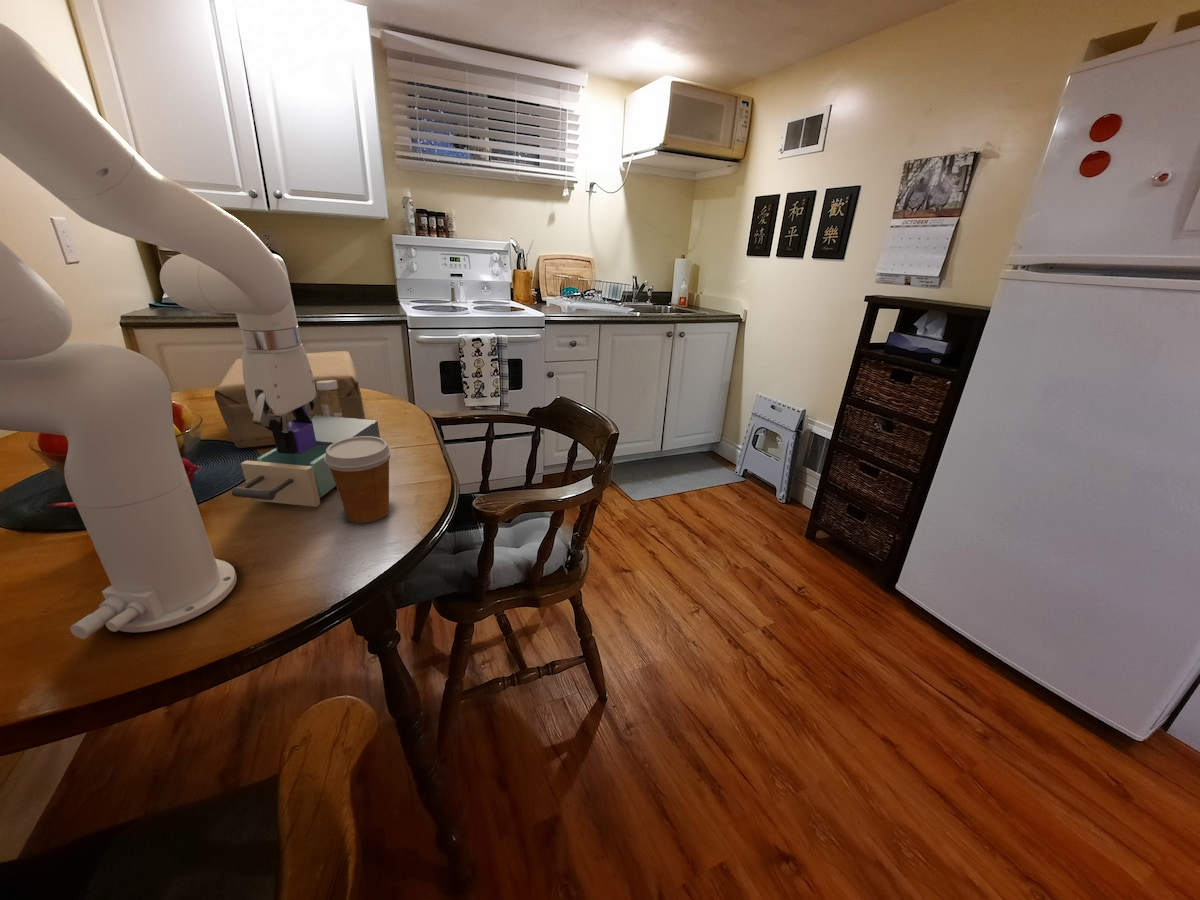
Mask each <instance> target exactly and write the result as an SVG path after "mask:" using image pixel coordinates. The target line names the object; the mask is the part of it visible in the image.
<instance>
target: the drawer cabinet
mask: <svg viewBox="0 0 1200 900" xmlns="http://www.w3.org/2000/svg"><path fill="white" fill-rule="evenodd" d="M312 424H313V429H314V433H315V438H316V441H315V442H316V445H321V446H330V445H331V444H333V443H335V442H337V441H340V440H342V439H346V438H351V437H359V436H373V437H379V438H381V434H380V429H379V428H380V427H379V422H378V420H377V419H366V418H365V419H355V418H343V417H331V416H320V415H316V416H314V417H313V419H312Z"/></svg>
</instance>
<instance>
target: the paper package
mask: <svg viewBox="0 0 1200 900" xmlns="http://www.w3.org/2000/svg"><path fill="white" fill-rule="evenodd" d="M306 355H307V357H308V360H309V363H310V367H311V370H312V374H313V378H314V383H315V389H316V391H317V393H318V398H317V400H316V402H315V403H314V408H313V411H312V412H313V417H314V416H316V415H320V416H324V415H323V412H322V408H321V401H320V395H319V392H318V391H319V390H317V386H316V382H317V381H327V380H336V381H337V384H338V389H337V390H338V395H339V396H338V399H339V404H340V408H341V412H342V417H343V418H355V419H366V417H365V410H364V403H363V397H362V392H361V388H360V383H359V379H358V375H357V371H356V370H357V369H356V367H355V364H354V361H353V358H352V356H351V353H350V352H349V351H347V350H341V351H339V350H337V351H323V352H321V351H319V352H306ZM214 399H215V402H216V404H217V407H218V410H219V412H220V414H221V417H222V419H223V422H224V423H225V426H226V428H227V430H228V433H229V436H230V438H231V439H232V441H233V444H234V445H235V447H236V448H239V449H248V448H255V447H265V446H272V445H273V446H276V444H275V440H274V436H273V432H270V431H269V430H268V429H267V428H266V427H264V426H261V425H258V424H254V423H253V416H254V413H252V412H251V410H250V407H249V404H248V400H247V395H246V390H245V384H244V378H243V369H242V357H241V358H236V359H235V361H234V362H233V363H232V365H231V366H230V367H229V369H228V371H227V372H226V374H225V375H224V377H223V378H222V380H221V382H220V383H219V385H218V386H217V388H216V389H215V390H214ZM288 419H289V422H292V420H293V419H296V418H295V417H294V415H293V413H292V411H291V412H289V413H288ZM276 421H278V422H280V417H276Z"/></svg>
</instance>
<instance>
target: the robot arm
mask: <svg viewBox="0 0 1200 900" xmlns="http://www.w3.org/2000/svg"><path fill="white" fill-rule="evenodd" d="M0 155H2V156H3V157H4V158H5V159H7V160H8V161H9V162H11V163H12V164H13V165H14V166H16V167H18V168H19V169H20V170H21V171H22V172H23V173H24V174H25V175H27V176H29V178H31V179H32V180H33V181H35V182H36V183H37V184H39V185H40V186H41V187H42V188H43V189H45V190H46V191H47V192H49V193H50V194H51V195H53V196H54V198H56V199H58V200H59V201H60V202H61V203H63V204H64V205H65V206H66V207H68V208H69V209H70V210H71V211H73V212H74V213H75V214H76V215H77V216H79V217H80V218H82V219H83V220H85V221H87V222H89V223H91V224H93V225H95V226H98V227H100V228H101V229H102V228H103V229H105V230H108V231H110V232H113V233H116V234H118V235H122V236H123V237H127V238H131V239H132V240H133V239H134V240H137V241H140V242H143V243H147V244H151V245H154V246H158V247H161V248H165V249H168V250H171V251H173V252H177V253H179V254H176V255H174V256H171V257H170V258H168V259H167V260H166V261H165V262H164V263H163V265H162V267H161V269H160V271H159V281H160V285H161V289H162V290H163V293H164V294H165V295H166V296H167V297H168V298H169V299H171V301H172V302H174V303H175V304H177V305H178V306H180V307H182V308H185V309H186V310H190V311H194V312H199V313H211V314H235V315H236V319H237V323H238V327H239V331H240V334H241V337H242V338H241V339H242V342H243V346H244V351H242V352H241V358H242V369H243V378H244V384H245V390H246V395H247V400H248V404H249V407H250V410H251V412H252V413H254V416H253V423H254V424H258V425H261V426H264V427H266V428H267V429H268V430H269V431H270V432H273V436H274V440H275V448H277V451H278V452H279V453H286V454H296V453H297V447H296V443H295V439H294V434H293V431H289V419H288V413H289V412H291V411H292V413H293V415H294V417H295V418H296V419H293V420H292V422H298V423H309V424H312V419H313V412H312V411H313V408H314V403H315V402H316V400H317V398H318V393H317V391H316V389H315V383H314V378H313V374H312V370H311V367H310V363H309V360H308V357H307V355H306V353H307V352H306V350H305V347H304V345H303V343H302V338H301V333H300V328H299V322H298V318H297V314H296V310H295V309H296V307H295V304H294V299H293V295H292V289H291V284H290V283H291V282H290V280H289V274H288V269H287V266H286V263H285V261H284V259H283V258H282V257H281V256H280V255H278V254H276V253H272V251H271V250H270V249H269V248H268V247H267V246H266V244H264V242H263V241H262V240H261V239H260V238H259V237H258V235H256V234H255V232H254V231H252V230H251V229H250V228H249V227H248V226H247V225H245V223H243V222H242V221H241V220H239V219H238V218H236V217H235V216H234V215H232V214H230V213H228V212H227V211H225V210H224V209H223V208H221V207H219V206H217V205H215V204H214V203H213V202H211V201H209V200H207V199H206V198H204V197H202V196H200V195H199V194H197V193H195V192H194V191H192V190H190V189H189V188H187V187H186V186H184V185H181V184H180V183H178V182H176V181H174V180H172V179H170V178H168V177H166V176H164V175H163V174H161V173H159V172H158V171H157V170H155V169H154V168H153V167H152V166H151V165H150V164H149V163H148V162H146V161H145V160H144V158H143V157H141V155H139V154H138V152H137V151H136V150H135V149H134V148H133V147H132V146H131V145H130V144H129V143H128V142H127V141H126V140H125V139H124V138H123V137H122V136H120V135H119V133H118V132H117V131H116V130H115V129H114V128H113V127H112V126H111V125H110V124H109V123H108V122H107V121H106V120H105V119H104V118H103V117H102V116H101V115H100V114H99V113H98V112H97V111H96V110H95V109H94V108H93V107H92V106H91V104H90V103H89V102H88V101H87V100H86V99H85V98H84V97H83V96H82V95H81V94H80V93H79V92H78V91H77V90H76V89H75V88H74V86H72V84H70V83H69V82H68V80H66V79H65V78H64V77H63V76H62V75H61V74H60V72H59V71H57V70H56V69H55V67H53V65H51V64H50V62H49V61H47V59H46V58H44V56H43V55H41V54H40V53H39V51H37V49H36V48H34V47H33V46H32V44H30V42H28V41H27V40H26V39H25V38H23V37H22V36H21V35H20V34H18V33H17V32H16V31H14V30H13V29H12V28H10V27H8V26H7V25H5V24H3V23H2V22H0ZM72 331H73V319H72V315H71V312H70V310H69V308H68V306H67V304H66V303H65V301H64V300H63V299H62V297H61V296H60V295H59V294H58V293H57V292H56V291H55V290H54V288H52V286H51V285H50V284H49V283H48V282H47V281H46V280H45V279H44V278H43V277H42V276H41V275H40V274H38V273H37V271H35V270H34V269H33V268H32V267H31V266H29V265H28V264H27V263H26V262H25V260H23V259H22V258H21V257H20V256H19V255H18V254H17V253H15V252H14V250H12V249H11V248H10V247H9V246H7V244H5V242H3V241H2V240H1V239H0V430H2V431H8V432H9V431H10V432H19V433H37V434H48V435H49V434H50V435H54V436H55V435H56V436H64V437H65V438H66V439H67V445H68V446H67V452H66V458H65V462H64V467H63V476H64V482H65V485H66V488H67V491H68V492H69V495H70V497H71V500H72V502H74V503H75V505H76V507H77V508H76V509H77V512H78V513H79V516H80V518H81V520H82V522H83V525H84V527H85V529H86V531H87V534H88V537H89V538H90V540H91V542H92V545H93V547H94V549H95V552H96V554H97V556H98V558H99V561H100V563H101V564H102V567H103V569H104V572H105V574H106V576H107V578H108V581H109V583H110V585H109V586H107V587H106V588H105V589H103V590H102V591H101V593H102V595H103V598H104V600H103V601H102V602H101V603H99V605H98V608H97V609H96V610H95V611H93V612H92V613H89V614H87V615H85V616H84V617H82V618H81V619H80V620H78V621H76V622H75V623H73V624H71V626H70V627H69V630H70V633H71V634H72V635H73V636H74V637H76V638H78V639H80V640H86V639H88V638H89V637H90V636H92V635H93V634H95V633H96V632H98V631H99V630H100V629H103V627H104V626H105V627H106V629H108V630H109V631H110V632H114V633H117V632H118V631H119V632H124V633H147V632H153V631H159V630H163V629H167V628H171V627H175V626H177V625H180V624H183V623H186V622H188V621H190V620H192V619H194V618H197V617H199V616H200V615H202V614H204V613H206V612H207V611H210V610H211V609H213V608H214V607H216V606H217V605H218V604H219V603H221V602H222V601H223V600H224V599H226V598H227V597H228V596H229V594H230V593H231V592H232V591H233V589H234V588H235V586H236V584H237V580H238V578H237V573H236V569H235V568H234V566H233V565H232V564H231V563H229V562H227V561H225V560H221V559H217V558H215V554H214V551H213V548H212V545H211V543H210V540H209V537H208V533H207V531H206V530H207V529H206V527H205V525H204V522H203V519H202V515H201V513H200V509H199V507H198V504H197V501H196V497H195V495H194V492H193V488H192V484H191V485H190V482H189V480H188V477H187V474H186V471H185V468H184V465H183V462H182V459H181V458H182V456H181V453H180V452H181V451H180V449H179V446H178V441H177V437H176V431H175V427H174V425H175V424H174V415H173V398H172V389H171V385H170V382H169V380H168V377H167V376H166V373H164V371H163V370H162V368H160V366H159V365H158V364H157V363H156V362H154V361H153V360H152V359H150V358H148V357H147V356H145V355H144V354H141V353H139V352H137V351H134V350H132V349H129V348H126V347H121V346H117V345H112V344H104V343H94V342H81V341H80V342H78V341H68V340H69V339H70V336H71V334H72ZM276 417H280V422H278V421H276ZM312 428H313V424H312ZM313 432H314V429H313ZM314 437H315V433H314ZM315 441H316V438H315Z"/></svg>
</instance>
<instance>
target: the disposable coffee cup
mask: <svg viewBox="0 0 1200 900" xmlns="http://www.w3.org/2000/svg"><path fill="white" fill-rule="evenodd" d="M391 455H392V449H391V447H390V446H389V444H388V442H387V441H386V440H385V439H384V438H381V437H380V438H379V437H373V436H359V437H351V438H346V439H342V440H340V441H337V442H335V443H333V444H331V445H330V446H329V447H327V449H326V455H325V457H324V461H325V463H326V464H327V465H328V467H330V470H331V473H332V475H333V478H334V481H335V484H336V486H335V487H336V489H337V492H338V495H339V498H340V500H341V504H342V505H343V509H344V511H345V514H346V516H347V520H349V521H350V522H352V523H356V524H357V523H359V524H365V523H366V524H367V523H372V522H375V521H378V520H380V519H383V518H384V517H386V516H387V514H388V513H389V512H390V458H391Z"/></svg>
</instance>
